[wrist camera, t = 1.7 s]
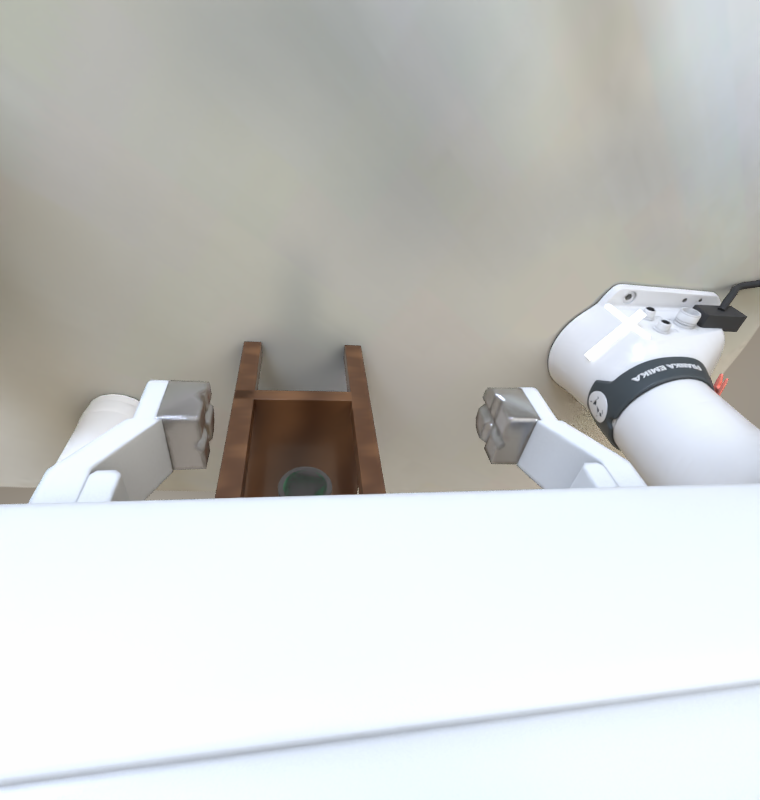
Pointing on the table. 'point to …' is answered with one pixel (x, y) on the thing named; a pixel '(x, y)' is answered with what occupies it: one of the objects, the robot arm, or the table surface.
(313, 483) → the bottle
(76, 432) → the bottle
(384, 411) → the table surface
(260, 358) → the stand
